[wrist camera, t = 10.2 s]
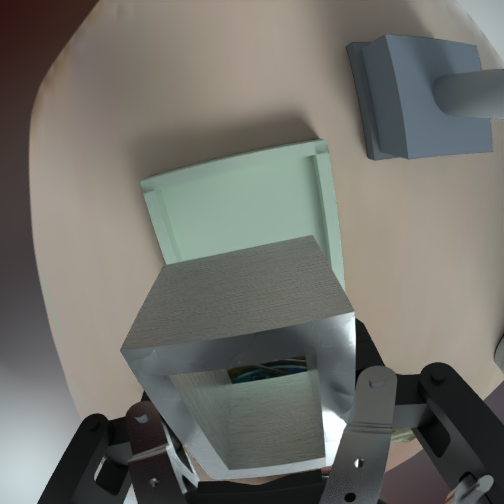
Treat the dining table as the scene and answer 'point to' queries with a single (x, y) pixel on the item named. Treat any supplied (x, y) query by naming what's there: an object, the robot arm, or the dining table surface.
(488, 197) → the dining table surface
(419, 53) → the grey peg stand
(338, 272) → the tray
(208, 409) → the gray open box
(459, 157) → the dining table surface
